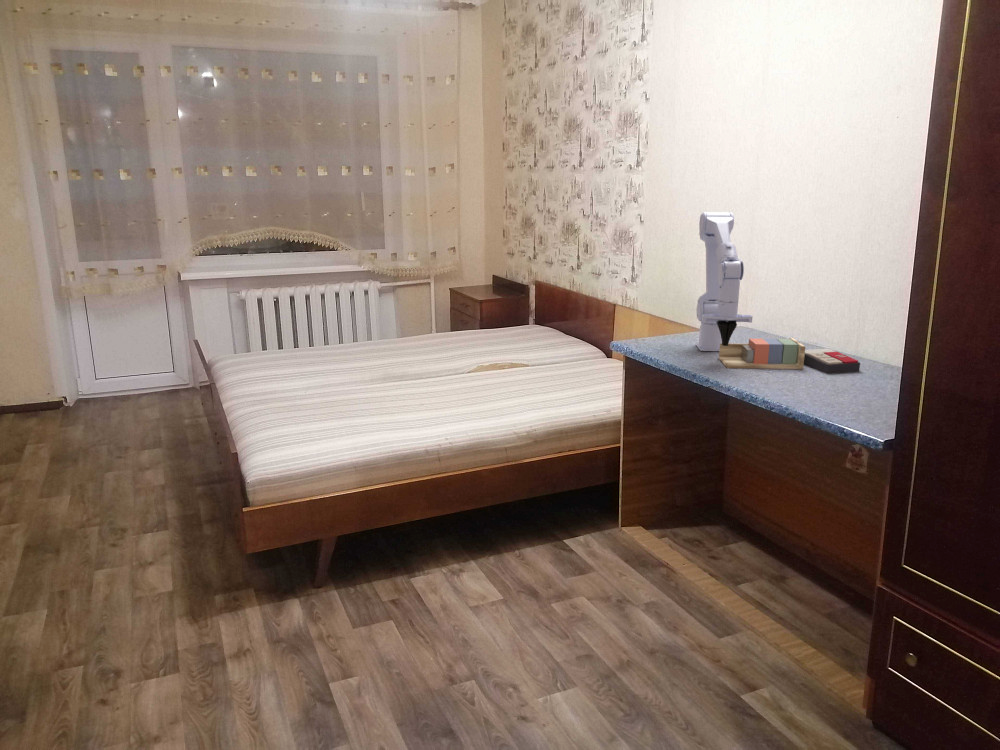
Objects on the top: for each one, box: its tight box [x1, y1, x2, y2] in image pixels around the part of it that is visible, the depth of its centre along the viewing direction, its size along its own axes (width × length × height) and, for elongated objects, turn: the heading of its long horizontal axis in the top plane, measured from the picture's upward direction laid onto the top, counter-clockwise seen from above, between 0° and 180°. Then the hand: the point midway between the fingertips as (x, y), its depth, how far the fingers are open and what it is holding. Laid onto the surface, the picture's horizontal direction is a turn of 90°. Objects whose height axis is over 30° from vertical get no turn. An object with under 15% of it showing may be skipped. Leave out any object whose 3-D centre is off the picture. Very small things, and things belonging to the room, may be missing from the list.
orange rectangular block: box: [748, 338, 769, 364], centre depth 228 cm, size 8×4×6 cm, turn 176°
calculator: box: [804, 348, 861, 374], centre depth 224 cm, size 11×4×15 cm
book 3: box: [776, 338, 798, 364], centre depth 227 cm, size 8×4×6 cm, turn 176°
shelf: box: [718, 337, 806, 370], centre depth 227 cm, size 12×22×7 cm, turn 86°
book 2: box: [762, 338, 783, 364], centre depth 227 cm, size 8×4×6 cm, turn 176°
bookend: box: [741, 345, 755, 363], centre depth 228 cm, size 7×2×4 cm, turn 176°
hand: (724, 345), depth 229 cm, fingers closed
